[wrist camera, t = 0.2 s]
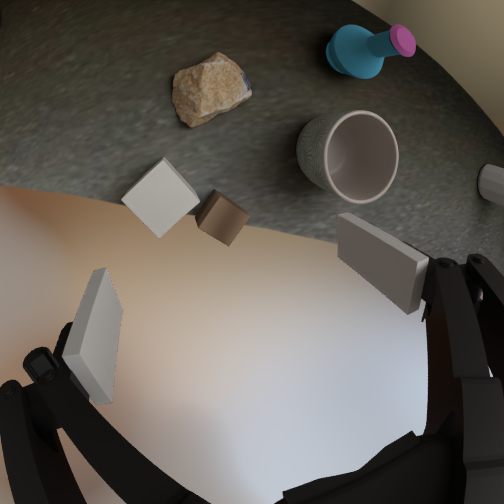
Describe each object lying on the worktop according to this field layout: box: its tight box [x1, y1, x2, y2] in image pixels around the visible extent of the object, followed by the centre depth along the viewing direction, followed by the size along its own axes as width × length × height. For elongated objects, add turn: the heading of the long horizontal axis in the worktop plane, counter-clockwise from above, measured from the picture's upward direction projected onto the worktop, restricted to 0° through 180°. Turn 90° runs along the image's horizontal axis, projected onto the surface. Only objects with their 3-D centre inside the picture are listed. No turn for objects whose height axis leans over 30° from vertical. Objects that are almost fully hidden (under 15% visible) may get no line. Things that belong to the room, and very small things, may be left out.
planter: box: [296, 110, 398, 204], centre depth 38 cm, size 12×12×11 cm
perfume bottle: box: [326, 24, 416, 79], centre depth 31 cm, size 9×9×15 cm
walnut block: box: [195, 189, 250, 246], centre depth 40 cm, size 5×5×5 cm
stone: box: [172, 52, 252, 128], centre depth 33 cm, size 8×10×4 cm
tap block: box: [121, 157, 200, 238], centre depth 36 cm, size 7×7×6 cm
